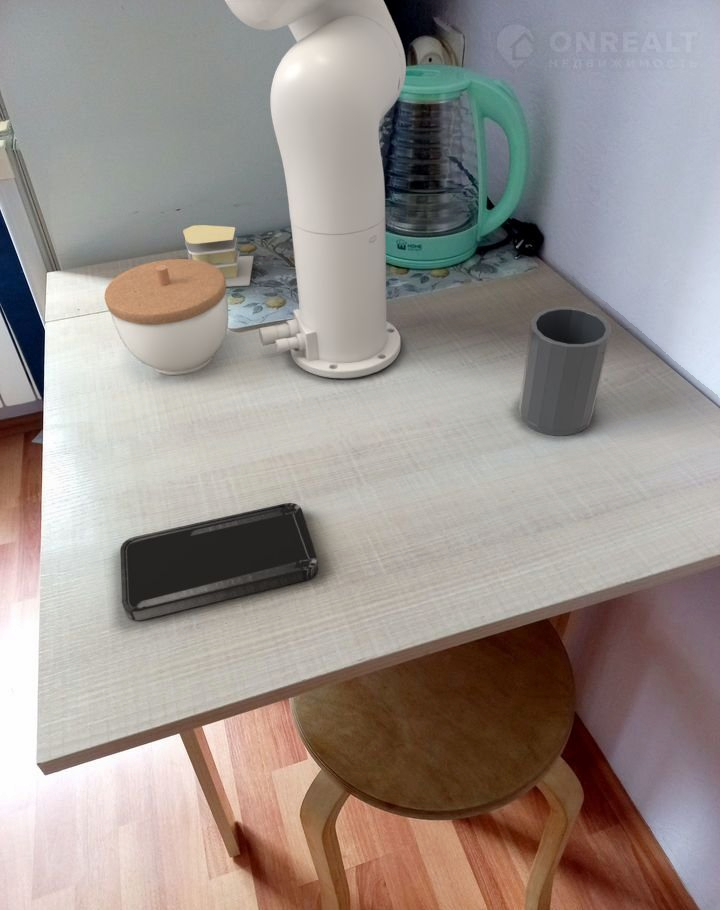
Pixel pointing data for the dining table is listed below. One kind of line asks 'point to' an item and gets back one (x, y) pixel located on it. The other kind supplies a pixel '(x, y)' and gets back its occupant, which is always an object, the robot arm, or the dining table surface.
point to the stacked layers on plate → (219, 252)
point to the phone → (215, 560)
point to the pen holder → (563, 369)
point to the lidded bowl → (170, 313)
